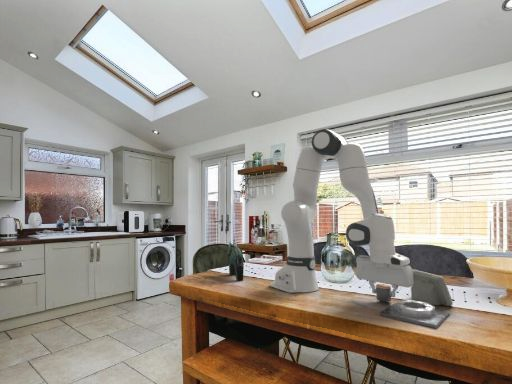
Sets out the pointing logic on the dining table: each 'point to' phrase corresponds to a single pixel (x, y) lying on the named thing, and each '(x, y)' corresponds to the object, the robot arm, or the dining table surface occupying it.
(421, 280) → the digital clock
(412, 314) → the flat square base plate
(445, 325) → the dining table surface
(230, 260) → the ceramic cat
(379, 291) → the dark grey cylinder
